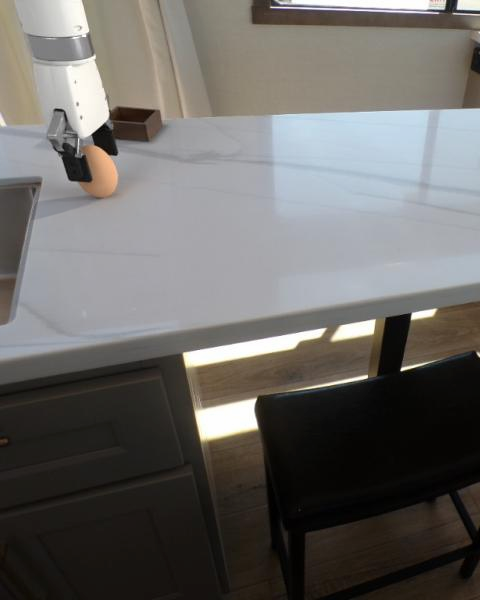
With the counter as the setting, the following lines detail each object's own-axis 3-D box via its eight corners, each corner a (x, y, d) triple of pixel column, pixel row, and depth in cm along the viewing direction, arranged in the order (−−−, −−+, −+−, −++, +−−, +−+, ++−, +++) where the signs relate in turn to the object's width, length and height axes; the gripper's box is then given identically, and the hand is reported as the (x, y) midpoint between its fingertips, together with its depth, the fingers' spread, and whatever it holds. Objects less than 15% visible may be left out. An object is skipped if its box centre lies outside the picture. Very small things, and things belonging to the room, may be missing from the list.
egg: (113, 206, 81) (99, 155, 75) (75, 203, 80) (58, 151, 75) (128, 189, 85) (116, 140, 80) (92, 186, 85) (78, 136, 80)
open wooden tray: (103, 137, 100) (99, 120, 98) (120, 122, 106) (116, 105, 104) (149, 141, 100) (145, 124, 98) (162, 126, 107) (159, 109, 105)
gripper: (62, 30, 76) (93, 143, 86) (-6, 60, 62) (41, 191, 72) (116, 35, 76) (140, 147, 87) (60, 66, 63) (97, 194, 73)
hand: (95, 167), depth 80 cm, fingers open, 9 cm apart
